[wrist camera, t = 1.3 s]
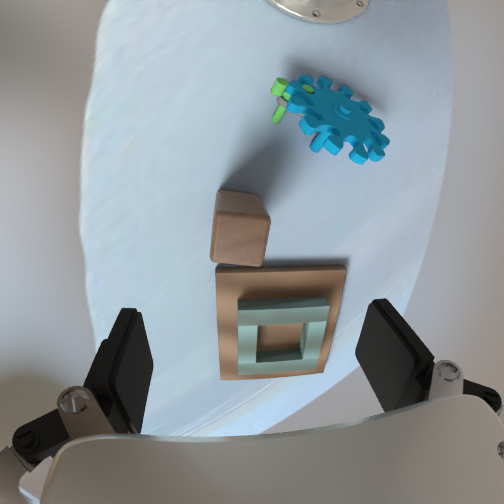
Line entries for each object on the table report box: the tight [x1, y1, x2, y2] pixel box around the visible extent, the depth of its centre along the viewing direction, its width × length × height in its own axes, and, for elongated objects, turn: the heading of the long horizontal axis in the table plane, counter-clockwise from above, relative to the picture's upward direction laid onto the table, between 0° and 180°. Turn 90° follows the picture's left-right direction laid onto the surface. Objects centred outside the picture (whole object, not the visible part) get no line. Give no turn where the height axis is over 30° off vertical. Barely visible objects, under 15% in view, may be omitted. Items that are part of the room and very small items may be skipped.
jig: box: [215, 265, 347, 380], centre depth 32 cm, size 16×14×3 cm
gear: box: [271, 75, 390, 165], centre depth 23 cm, size 11×6×10 cm
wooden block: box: [210, 190, 271, 267], centre depth 24 cm, size 4×4×8 cm
